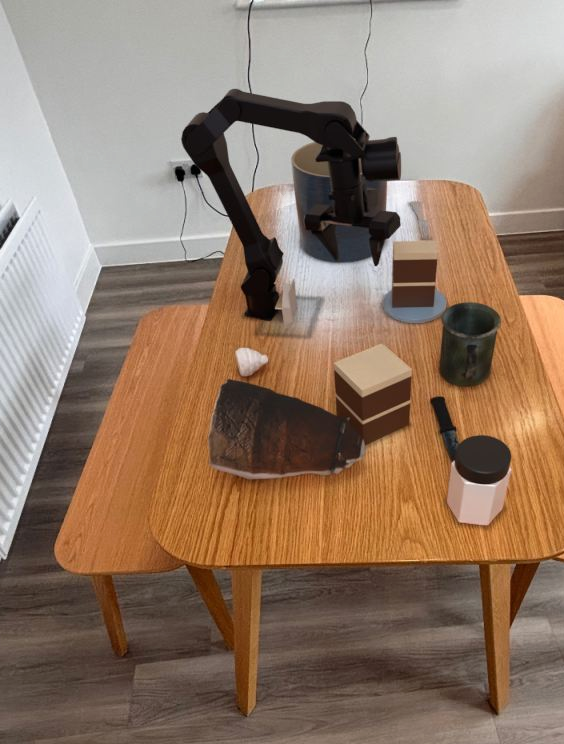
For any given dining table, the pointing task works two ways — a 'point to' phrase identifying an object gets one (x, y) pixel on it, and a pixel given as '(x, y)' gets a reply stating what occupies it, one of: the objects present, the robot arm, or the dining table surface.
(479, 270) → the dining table surface
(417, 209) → the fork
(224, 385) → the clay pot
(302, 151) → the planter
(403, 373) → the cake
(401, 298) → the cake slice
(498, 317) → the mug
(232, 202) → the robot arm
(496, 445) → the jar
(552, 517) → the dining table surface
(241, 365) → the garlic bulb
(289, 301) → the napkin holder
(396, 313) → the plate
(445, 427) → the knife
